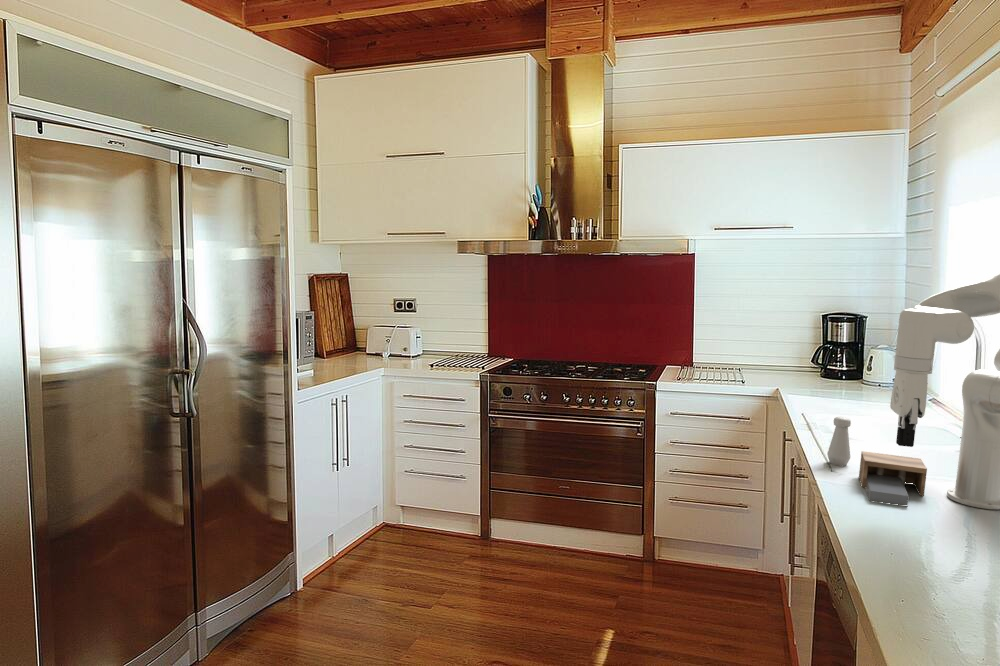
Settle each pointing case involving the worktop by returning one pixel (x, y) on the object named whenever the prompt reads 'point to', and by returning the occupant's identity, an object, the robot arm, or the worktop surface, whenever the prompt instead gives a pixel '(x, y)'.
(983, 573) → the worktop surface
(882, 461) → the open wooden box
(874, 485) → the board
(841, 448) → the salt shaker
